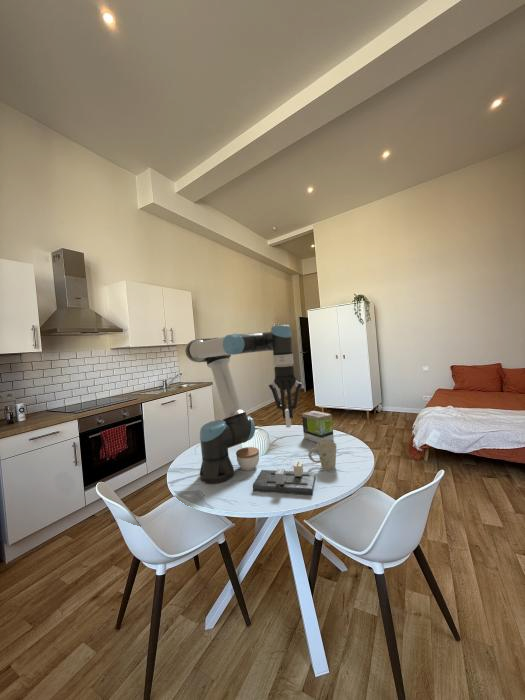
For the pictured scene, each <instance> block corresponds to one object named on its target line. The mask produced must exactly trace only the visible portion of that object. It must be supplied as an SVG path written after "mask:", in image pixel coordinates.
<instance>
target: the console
mask: <svg viewBox="0 0 525 700" xmlns="http://www.w3.org/2000/svg"><path fill="white" fill-rule="evenodd" d="M276 471H277V470H275V469H274V470H273V469H261V470H260V471H259V473H258V475H257V477H256V478H255V480H254V482H253V484H252V491H253V492H256V493H257V492H258V493H269V494H270V493H271V494H284V495H285V494H287V495H300V496H301V495H302V496H313V495H314V489H315V484H316V471H303V474H302V476H294V470H285V475H286V480H285V483H284V484H276V476H275V473H276Z"/></svg>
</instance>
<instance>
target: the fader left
mask: <svg viewBox="0 0 525 700" xmlns="http://www.w3.org/2000/svg"><path fill="white" fill-rule="evenodd" d="M293 471H294V476H302V474H303V472H304V467H303V461H295V462H294V464H293Z"/></svg>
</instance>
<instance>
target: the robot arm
mask: <svg viewBox="0 0 525 700" xmlns="http://www.w3.org/2000/svg"><path fill="white" fill-rule="evenodd" d="M270 329H271V330H270V331H267V332H254V333H253V332H252V333H251V332H250V333H231V334H227V335H225V336H222V337H211V338H197V339H193V340H190V341H189V342H188V343H187V345H186V346H185V355H186V357H187V358H188V359H189V361H192V362H194V363H206V366H207V367H208V368H209V369H211V372H212V375H213V379H214V382H215V386H216V390H217V393H218V396H219V399H220V403H221V407H222V410H223V414H224V416H223V418H222V419H216V420H212V421H209V422H207V423H205V424H204V425H202V426H201V428H200V430H199V441H200V449H201V450H200V451H201V456H202V457H201V458H202V461H201V466H200V469H199V470H200V471H199V480H200V482H202V483H204V484H209V485H210V484H212V485H213V484H218V483H219V484H220V483H224V482H226V481H229V480H230V479H231V478H233V476H234V475H235V469H234V466H233V463H232V461H231V459H230V457H229V449H231V448H233V447H236V446H238V445H241V444H244V443H247V442H248V441H251V440H252V439H253V438H254V436H255V432H256V426H255V420H254V419H253V418H252V416H250V415H247V412H246V411H245V410H244V409H242V406H241V402H240V400H239V396H238V393H237V390H236V386H235V382H234V380H233V376H232V373H231V370H230V367H229V363H230V360H231V359H230V358H231V356H233V355H241V354H249V353H251V354H252V353H258V352H271V351H272V353H273V355H272V356H273V357H272V358H273V365H274V369H273V370H274V379H273V382H272V383H270V384H268V387H269V389H270V390H271V393H272V395H273V398H274V402H275V405H276V408H277V409H280V410H282V418H283V419H285V427H286V428H291V427H292V419H293V418H294V409H297V407H298V403H299V396H300V392H301V390H300V389H301V388H302V386H303V383H302V382H300V381H298V380H297V378H296V376H295V375H296V374H295V366H294V364H295V363H294V350H293V338H292V337H293V335H292V329H291V326H290V325H289V324H280V325H272V326H271V328H270ZM294 385H295V392H294V398H293V394H292V390H293V387H294ZM277 387H278V389H279V391H280V392H279V394H280V395H279V394H278V390H277ZM279 396H280V397H279ZM286 397H287V398H286ZM286 399H287V401H286ZM286 402H287V403H286ZM287 404H288V405H287ZM287 407H288V408H287Z"/></svg>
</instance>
